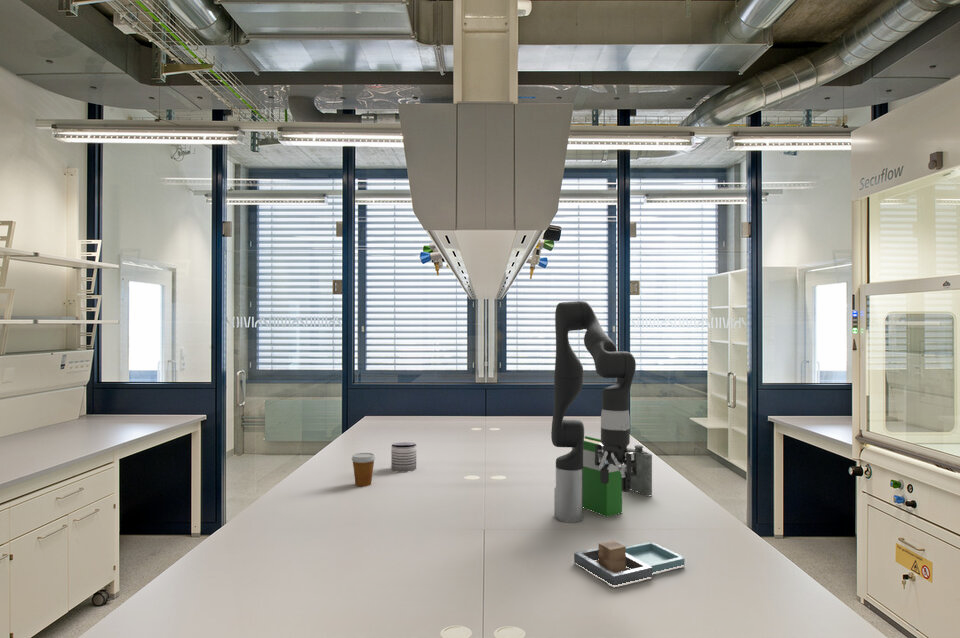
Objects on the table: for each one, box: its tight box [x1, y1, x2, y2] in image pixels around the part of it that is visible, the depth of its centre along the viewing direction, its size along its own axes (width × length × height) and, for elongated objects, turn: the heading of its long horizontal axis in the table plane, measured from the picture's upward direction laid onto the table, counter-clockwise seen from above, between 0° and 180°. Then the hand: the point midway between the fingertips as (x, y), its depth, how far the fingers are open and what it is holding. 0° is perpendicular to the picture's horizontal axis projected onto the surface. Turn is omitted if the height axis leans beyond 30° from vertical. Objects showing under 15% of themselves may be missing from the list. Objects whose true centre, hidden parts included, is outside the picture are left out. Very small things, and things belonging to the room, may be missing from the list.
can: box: [390, 441, 417, 473], centre depth 264 cm, size 11×11×12 cm
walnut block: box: [598, 540, 627, 573], centre depth 155 cm, size 5×5×7 cm
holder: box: [573, 547, 653, 585], centre depth 155 cm, size 17×12×3 cm
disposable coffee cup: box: [351, 452, 376, 487], centre depth 239 cm, size 10×10×12 cm
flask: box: [623, 444, 653, 496], centre depth 230 cm, size 4×14×18 cm, turn 28°
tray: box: [625, 541, 685, 573], centre depth 161 cm, size 13×13×2 cm
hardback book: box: [571, 435, 623, 517], centre depth 209 cm, size 18×7×24 cm, turn 33°
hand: (615, 487), depth 156 cm, fingers open, 8 cm apart
